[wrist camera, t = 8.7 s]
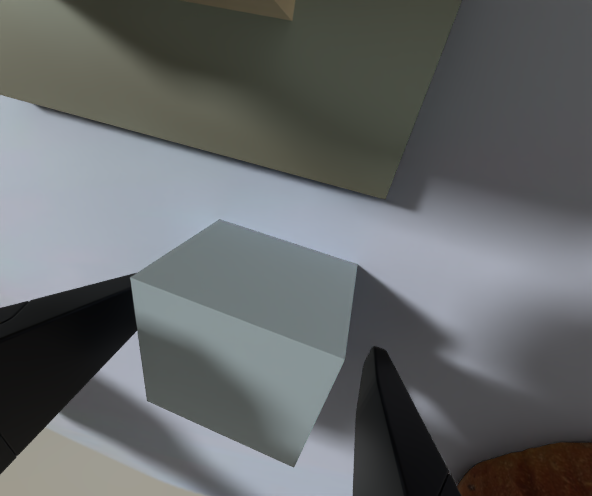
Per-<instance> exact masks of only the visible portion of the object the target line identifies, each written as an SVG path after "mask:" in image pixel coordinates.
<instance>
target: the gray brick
mask: <svg viewBox="0 0 592 496" xmlns="http://www.w3.org/2000/svg"><path fill="white" fill-rule="evenodd" d="M357 265H358V264H355V263H352V262H349V261H346V260H343V259H340V258H337V257H334V256H330V255H327V254H324V253H321V252H318V251H315V250H312V249H309V248H306V247H303V246H300V245H297V244H294V243H291V242H288V241H284V240H281V239H278V238H275V237H272V236H269V235H266V234H263V233H260V232H257V231H254V230H251V229H248V228H245V227H242V226H238V225H235V224H232V223H229V222H226V221H223V220H220V219H219V220H218V221H216V222H215V223H213V224H212V225H210V226H209V227H207V228H206V229H204V230H202V231H201V232H199V233H198V234H196V235H195V236H193V237H192V238H190V239H189V240H187V241H186V242H184V243H182V244H181V245H179V246H178V247H176V248H175V249H173V250H172V251H170V252H169V253H167V254H166V255H164V256H162V257H161V258H159V259H158V260H156V261H155V262H153V263H152V264H150V265H149V266H147V267H146V268H144V269H142V270H141V271H139V272H138V273H136V274H135V275H133V276H132V277H130V280H131V287H132V295H133V302H134V309H135V316H136V324H137V331H138V338H139V346H140V353H141V360H142V367H143V375H144V382H145V389H146V397H147V401H148V402H151V403H153V404H155V405H157V406H159V407H162V408H164V409H166V410H168V411H170V412H173V413H175V414H177V415H179V416H181V417H184V418H186V419H188V420H190V421H192V422H195V423H197V424H199V425H201V426H204V427H206V428H208V429H210V430H212V431H215V432H217V433H219V434H221V435H223V436H226V437H228V438H230V439H232V440H234V441H237V442H239V443H241V444H243V445H245V446H248V447H250V448H252V449H254V450H256V451H259V452H261V453H263V454H265V455H267V456H270V457H272V458H274V459H276V460H278V461H281V462H283V463H285V464H287V465H289V466H292V467H294V466H295V464H296V462H297V460H298V458H299V456H300V454H301V452H302V449H303V447H304V445H305V443H306V441H307V439H308V437H309V435H310V432H311V430H312V428H313V426H314V424H315V422H316V420H317V418H318V416H319V413H320V411H321V409H322V407H323V405H324V403H325V401H326V399H327V396H328V394H329V392H330V390H331V388H332V386H333V384H334V382H335V380H336V377H337V375H338V373H339V371H340V369H341V367H342V365H343V363H344V361H345V356H346V348H347V340H348V333H349V325H350V318H351V310H352V303H353V295H354V288H355V280H356V273H357Z"/></svg>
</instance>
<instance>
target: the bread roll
mask: <svg viewBox="0 0 592 496" xmlns="http://www.w3.org/2000/svg"><path fill="white" fill-rule="evenodd" d="M457 488H458V490H459V492H460V494H461V495H462V496H592V443H574V442H560V443H555V444H548V445H545V446H541V447H535V448H529V449H526V450H524V451H522V452H514V453H509V454H506V455H503V456H500V457H497V458H493V459H489V460H487V461H483V462H480V463H478V464H476V465H475V466H474V467H473V468H471V469H470V470H469V471H468V472H467V473H466V474H465V475H464V477H463V478H462V479H461V481H460V482H459V484H458V486H457Z"/></svg>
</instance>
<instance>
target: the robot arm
mask: <svg viewBox="0 0 592 496" xmlns="http://www.w3.org/2000/svg"><path fill="white" fill-rule="evenodd" d="M135 274H136V273H134V274H130V275H126V276H122V277H119V278H115V279H111V280H107V281H103V282H99V283H95V284H91V285H88V286H84V287H80V288H76V289H72V290H68V291H64V292H61V293H57V294H53V295H49V296H45V297H41V298H37V299H34V300H31V301H30V302H29V301H26V302H22V303H18V304H14V305H10V306H6V307H2V308H0V474H1V473H2V472H3V471H4V470H5V469H6V468H7V467H8V466H9V465H10V464H11V463H12V461H13V460H14V459H15V458H16V456H17V455H19V454H20V453H21V452H22V451H23V450H24V449H25V448H26V446H28V444H29V443H30V442H31V441H32V440H33V439H34V438H35V437H36V436H37V435H38V434H39V433H40V432H41V431H42V430H43V429H44V428H45V427H46V426H47V425H48V424H49V422H50V421H51V420H52V419H53V418H54V417H55V416H56V415H57V414H58V413H59V412H60V411H61V410H62V409H63V408H64V407H65V406H66V405H67V404H68V403H69V401H70V400H71V399H72V398H73V397H74V396H75V395H76V394H77V393H78V392H79V391H80V390H81V389H82V388H83V387H84V386H85V385H86V384H87V383H88V382H89V381H90V379H91V378H92V377H93V376H94V375H95V374H96V373H97V372H98V371H99V370H100V369H101V368H102V367H103V366H104V365H105V364H106V363H107V362H108V361H109V360H110V358H111V357H112V356H113V355H114V354H115V353H116V352H117V351H118V350H119V349H120V348H121V347H122V346H123V345H124V344H125V343H126V342H127V341H128V340H129V339H130V338H131V336H132V335H133V334H134V333H135V332H136V331H137V324H136V316H135V309H134V302H133V295H132V287H131V280H130V277H132V276H133V275H135ZM448 473H449V471H448V469H447V467H446V465H445V463H444V461H443V459H442V457H441V455H440V453H439V451H438V449H437V448H436V446H435V444H434V442H433V440H432V438H431V436H430V434H429V432H428V430H427V428H426V426H425V424H424V422H423V420H422V419H421V417H420V415H419V413H418V411H417V409H416V407H415V405H414V403H413V401H412V399H411V397H410V395H409V393H408V392H407V390H406V388H405V386H404V384H403V382H402V380H401V378H400V376H399V374H398V372H397V370H396V368H395V366H394V364H393V363H392V361H391V359H390V357H389V355H388V353H387V351H386V350H384V349H382V348H379V347H376V346H373V347H372V348H371V350H370V352H369V354H368V356H367V358H366V360H365V362H364V365H363V370H362V377H361V384H360V390H359V397H358V403H357V410H356V422H355V448H354V474H353V496H462V495H461V494H460V492H459V490H458V488H457V486H456V484H455V482H454V480H453V478H452V476H451V475H450V474H448Z"/></svg>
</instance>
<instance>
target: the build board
mask: <svg viewBox="0 0 592 496" xmlns="http://www.w3.org/2000/svg"><path fill="white" fill-rule="evenodd" d="M461 2H462V0H0V95H3V96H7V97H10V98H14V99H18V100H21V101H25V102H29V103H33V104H36V105H40V106H44V107H47V108H51V109H55V110H58V111H62V112H66V113H69V114H73V115H77V116H80V117H84V118H88V119H91V120H95V121H99V122H102V123H106V124H110V125H113V126H117V127H121V128H124V129H128V130H132V131H135V132H139V133H143V134H146V135H150V136H154V137H157V138H161V139H165V140H168V141H172V142H176V143H179V144H183V145H187V146H190V147H194V148H198V149H201V150H205V151H209V152H212V153H216V154H220V155H223V156H227V157H231V158H234V159H238V160H242V161H245V162H249V163H253V164H257V165H260V166H264V167H268V168H271V169H275V170H279V171H282V172H286V173H290V174H293V175H297V176H301V177H304V178H308V179H312V180H315V181H319V182H323V183H326V184H330V185H334V186H337V187H341V188H345V189H348V190H352V191H356V192H359V193H363V194H367V195H370V196H374V197H378V198H381V199H386V197H387V194H388V191H389V189H390V186H391V184H392V181H393V178H394V176H395V173H396V171H397V168H398V165H399V163H400V160H401V158H402V155H403V152H404V150H405V147H406V145H407V142H408V139H409V137H410V134H411V132H412V129H413V127H414V124H415V121H416V119H417V116H418V114H419V111H420V108H421V106H422V103H423V101H424V98H425V95H426V93H427V90H428V88H429V85H430V82H431V80H432V77H433V75H434V72H435V69H436V67H437V64H438V62H439V59H440V56H441V54H442V51H443V49H444V46H445V43H446V41H447V38H448V36H449V33H450V30H451V28H452V25H453V23H454V20H455V17H456V15H457V12H458V10H459V7H460V4H461Z"/></svg>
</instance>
